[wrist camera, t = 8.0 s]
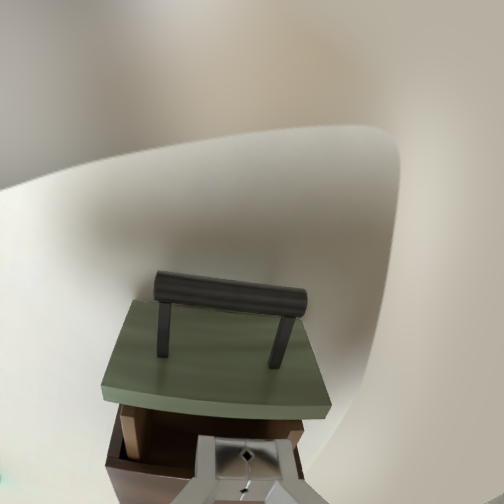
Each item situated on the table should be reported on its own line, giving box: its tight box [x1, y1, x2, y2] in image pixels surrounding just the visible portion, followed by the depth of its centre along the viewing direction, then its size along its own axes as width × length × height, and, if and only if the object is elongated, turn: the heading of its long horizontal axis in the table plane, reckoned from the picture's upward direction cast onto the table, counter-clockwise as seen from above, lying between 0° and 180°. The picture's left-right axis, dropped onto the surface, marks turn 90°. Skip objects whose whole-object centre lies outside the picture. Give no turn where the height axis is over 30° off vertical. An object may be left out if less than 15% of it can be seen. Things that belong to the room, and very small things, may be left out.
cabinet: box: [105, 404, 304, 504], centre depth 23 cm, size 15×13×10 cm
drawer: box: [101, 270, 332, 470], centre depth 19 cm, size 18×11×8 cm, turn 169°
